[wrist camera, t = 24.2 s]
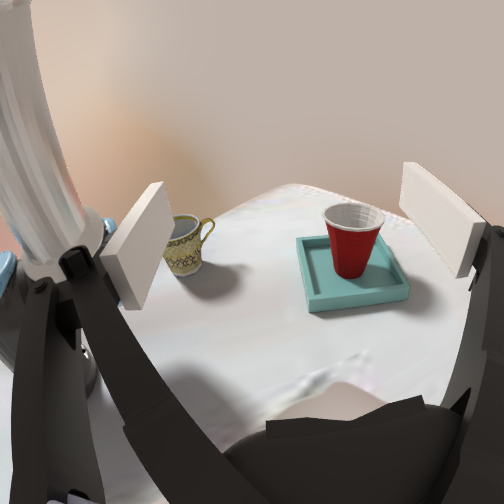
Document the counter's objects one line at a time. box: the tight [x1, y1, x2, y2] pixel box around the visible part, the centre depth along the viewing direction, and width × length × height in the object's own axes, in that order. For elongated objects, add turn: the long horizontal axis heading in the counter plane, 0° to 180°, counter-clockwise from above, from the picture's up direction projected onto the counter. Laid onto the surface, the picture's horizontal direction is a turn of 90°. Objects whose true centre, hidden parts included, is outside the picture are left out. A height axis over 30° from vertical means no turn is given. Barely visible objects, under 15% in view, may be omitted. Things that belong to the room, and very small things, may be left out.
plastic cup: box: [322, 203, 385, 279], centre depth 50 cm, size 11×11×12 cm
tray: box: [296, 233, 411, 313], centre depth 53 cm, size 18×18×3 cm
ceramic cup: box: [163, 214, 215, 277], centre depth 59 cm, size 13×10×10 cm
